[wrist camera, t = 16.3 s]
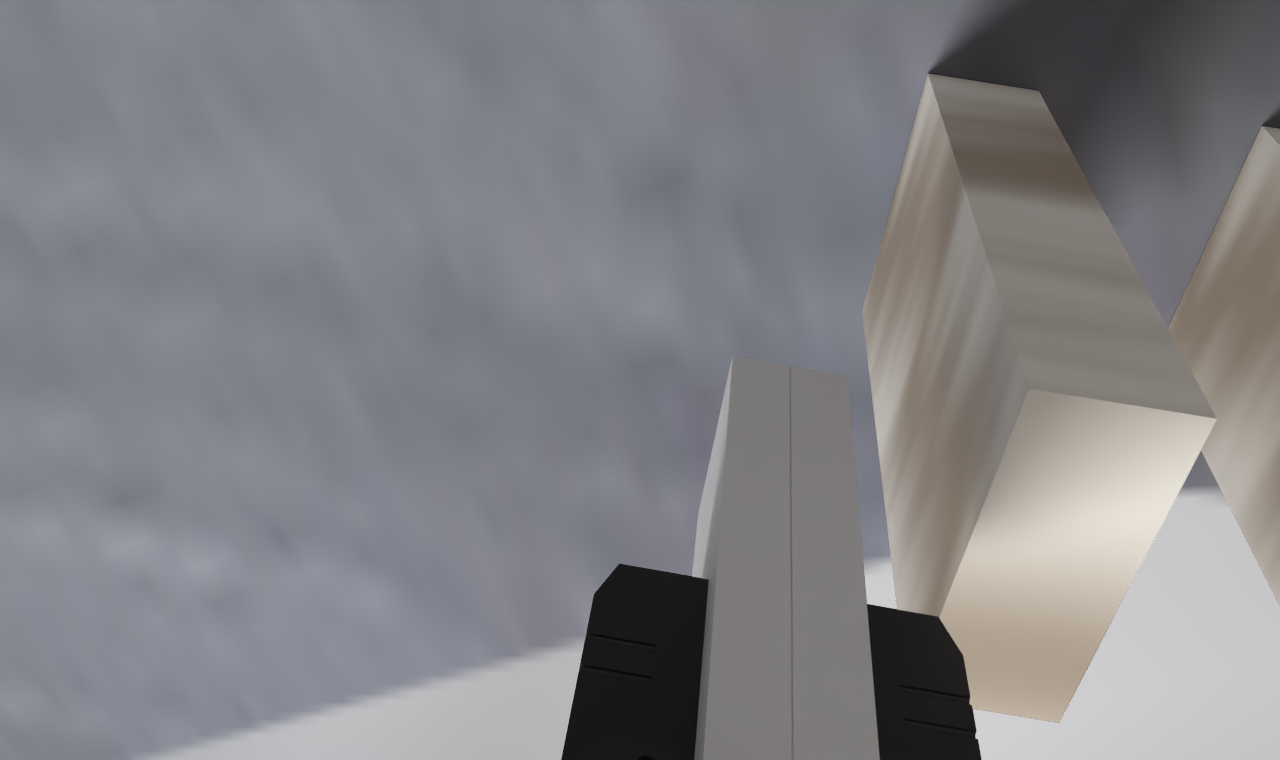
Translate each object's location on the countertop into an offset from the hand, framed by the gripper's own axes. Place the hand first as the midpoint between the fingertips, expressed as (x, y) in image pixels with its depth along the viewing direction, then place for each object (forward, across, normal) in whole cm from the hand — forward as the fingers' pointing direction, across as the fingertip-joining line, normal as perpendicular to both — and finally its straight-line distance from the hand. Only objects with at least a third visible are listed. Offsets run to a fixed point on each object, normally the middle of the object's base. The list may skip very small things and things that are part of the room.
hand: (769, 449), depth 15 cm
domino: (+8, +3, 0) cm, 9 cm away
